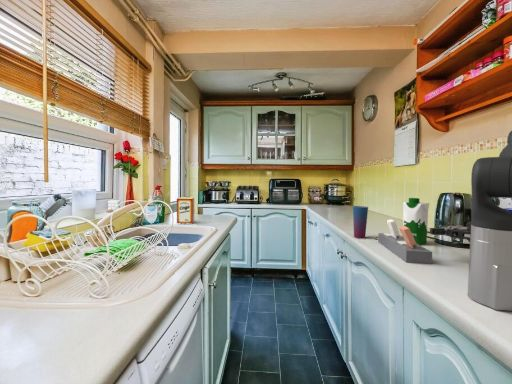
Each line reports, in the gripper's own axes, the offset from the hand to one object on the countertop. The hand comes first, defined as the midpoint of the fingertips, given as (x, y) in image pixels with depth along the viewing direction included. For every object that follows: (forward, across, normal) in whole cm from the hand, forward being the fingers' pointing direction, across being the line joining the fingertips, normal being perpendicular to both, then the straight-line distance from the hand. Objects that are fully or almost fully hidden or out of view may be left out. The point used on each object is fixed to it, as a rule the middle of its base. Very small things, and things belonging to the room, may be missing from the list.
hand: (431, 231), depth 88 cm
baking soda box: (+115, -54, +10) cm, 127 cm away
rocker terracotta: (+6, 0, +6) cm, 8 cm away
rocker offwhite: (+6, -14, +6) cm, 16 cm away
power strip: (+6, -12, +10) cm, 17 cm away
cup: (+16, -31, +10) cm, 36 cm away
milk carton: (-6, -25, +10) cm, 28 cm away
